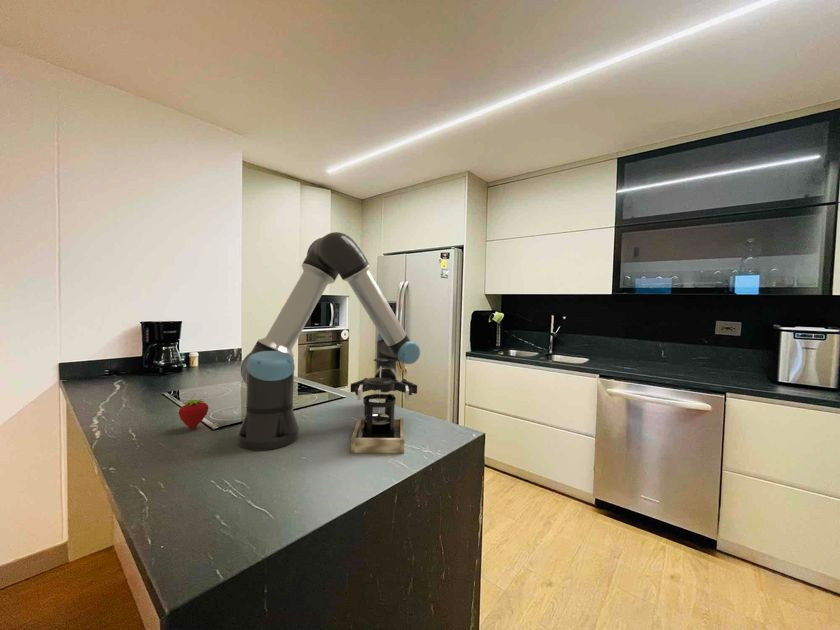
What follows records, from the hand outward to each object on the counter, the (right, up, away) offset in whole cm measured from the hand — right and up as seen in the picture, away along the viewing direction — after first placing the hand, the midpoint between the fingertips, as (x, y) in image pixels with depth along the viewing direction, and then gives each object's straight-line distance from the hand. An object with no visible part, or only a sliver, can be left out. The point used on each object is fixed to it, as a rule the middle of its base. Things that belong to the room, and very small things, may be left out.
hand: (383, 395), depth 95 cm
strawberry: (-55, -11, +3) cm, 56 cm away
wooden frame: (-1, -12, -1) cm, 12 cm away
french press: (-1, -13, -1) cm, 13 cm away
